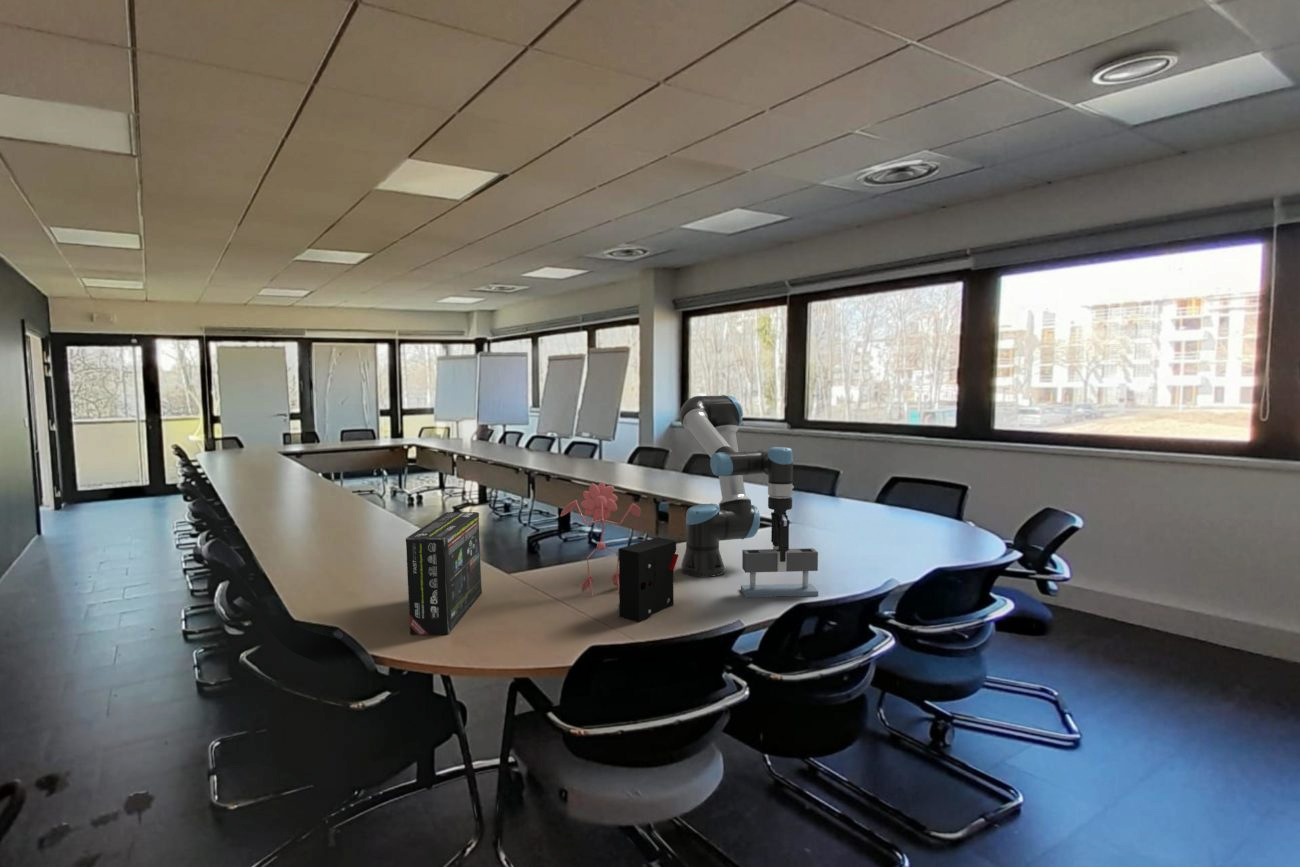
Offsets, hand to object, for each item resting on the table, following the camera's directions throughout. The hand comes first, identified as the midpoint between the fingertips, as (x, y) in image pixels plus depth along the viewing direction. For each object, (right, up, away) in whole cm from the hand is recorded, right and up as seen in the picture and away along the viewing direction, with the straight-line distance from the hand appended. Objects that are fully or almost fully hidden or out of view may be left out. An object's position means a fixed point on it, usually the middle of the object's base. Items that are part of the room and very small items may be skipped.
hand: (779, 568), depth 214 cm
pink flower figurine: (-57, -8, +5) cm, 58 cm away
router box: (-100, -10, -17) cm, 102 cm away
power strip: (0, 0, 0) cm, 0 cm away
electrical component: (-42, -9, -16) cm, 46 cm away
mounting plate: (0, -8, +1) cm, 8 cm away
